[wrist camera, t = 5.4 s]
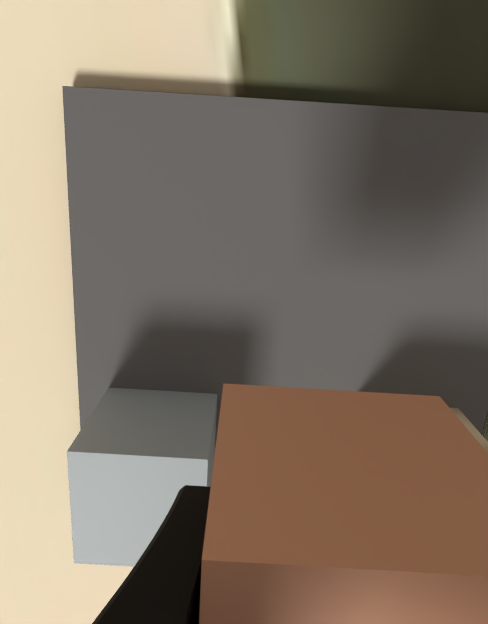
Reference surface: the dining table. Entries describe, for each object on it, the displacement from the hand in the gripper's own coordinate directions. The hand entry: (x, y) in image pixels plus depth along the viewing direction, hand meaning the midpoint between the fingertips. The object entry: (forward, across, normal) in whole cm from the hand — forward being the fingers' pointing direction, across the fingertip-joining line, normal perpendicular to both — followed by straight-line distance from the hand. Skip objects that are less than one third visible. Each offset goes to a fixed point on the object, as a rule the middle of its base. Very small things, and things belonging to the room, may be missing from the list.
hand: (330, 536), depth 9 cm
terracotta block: (+1, 0, 0) cm, 1 cm away
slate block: (+10, +5, +4) cm, 12 cm away
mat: (+10, 0, 0) cm, 10 cm away
